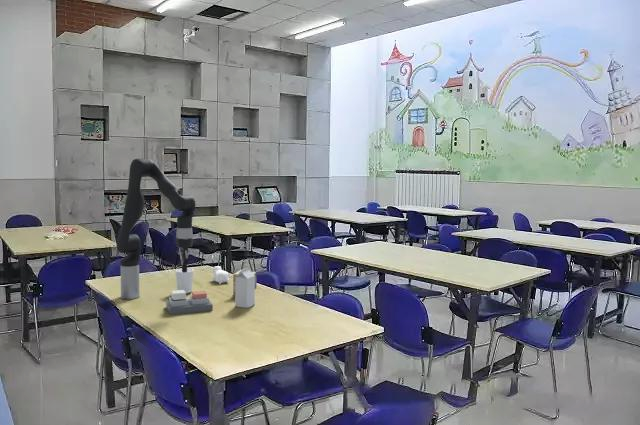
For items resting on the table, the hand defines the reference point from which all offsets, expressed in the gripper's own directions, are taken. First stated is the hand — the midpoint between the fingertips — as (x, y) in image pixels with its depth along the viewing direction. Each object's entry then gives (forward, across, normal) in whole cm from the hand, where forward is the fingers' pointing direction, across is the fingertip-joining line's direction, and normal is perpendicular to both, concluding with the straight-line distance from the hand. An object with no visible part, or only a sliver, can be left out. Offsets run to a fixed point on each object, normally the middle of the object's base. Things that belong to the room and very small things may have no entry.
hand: (184, 272), depth 254 cm
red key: (+14, +1, +7) cm, 15 cm away
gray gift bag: (+19, -22, +38) cm, 47 cm away
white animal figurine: (+19, -51, +31) cm, 62 cm away
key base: (+18, +1, +2) cm, 18 cm away
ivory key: (+12, +1, -3) cm, 13 cm away
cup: (+19, -31, +6) cm, 37 cm away
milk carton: (+18, +6, +29) cm, 35 cm away
